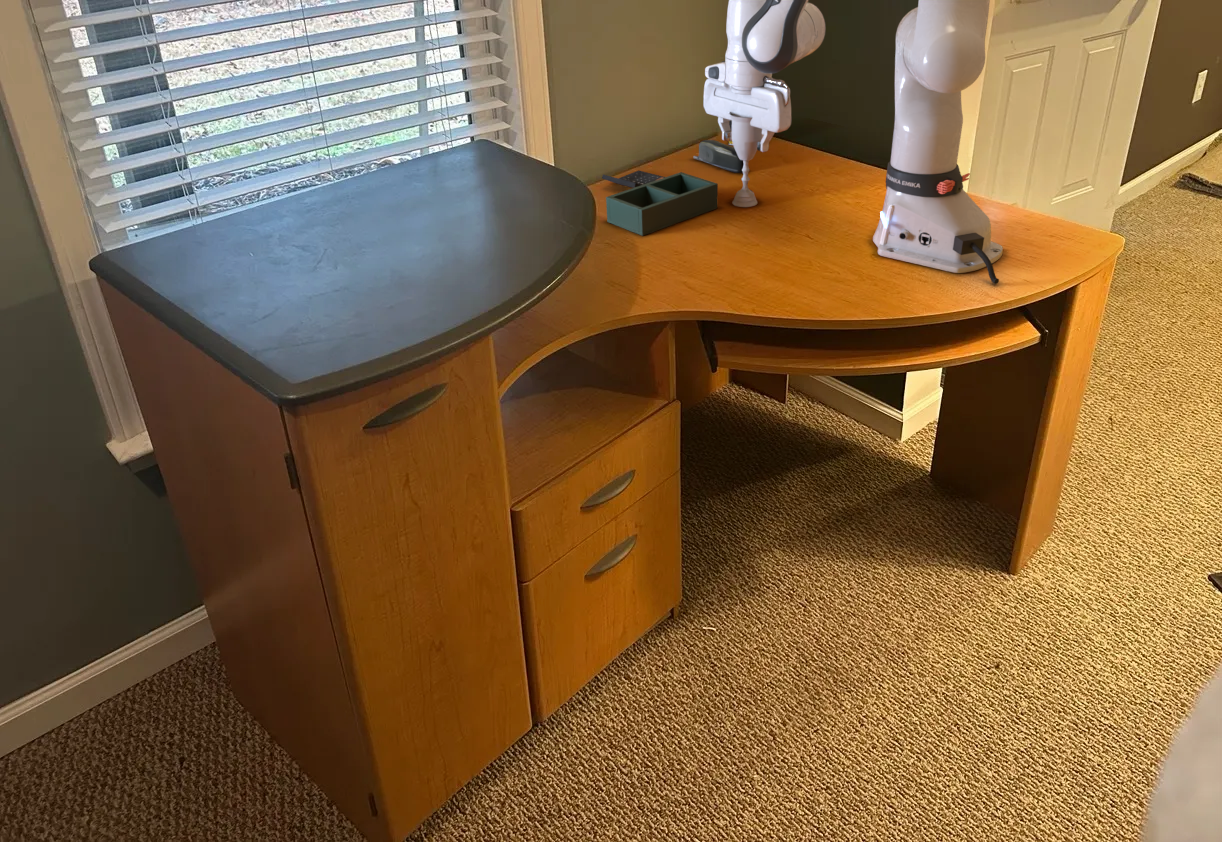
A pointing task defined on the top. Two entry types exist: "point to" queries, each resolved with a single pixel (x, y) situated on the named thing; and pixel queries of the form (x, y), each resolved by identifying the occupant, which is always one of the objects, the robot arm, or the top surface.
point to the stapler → (720, 155)
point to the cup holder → (661, 203)
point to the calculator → (634, 179)
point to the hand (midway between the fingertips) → (744, 145)
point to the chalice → (745, 155)
